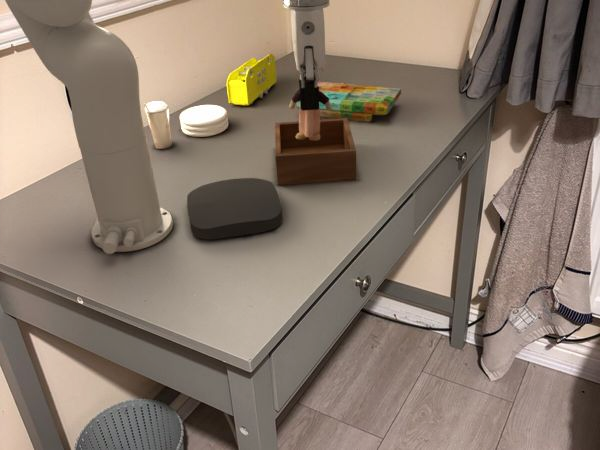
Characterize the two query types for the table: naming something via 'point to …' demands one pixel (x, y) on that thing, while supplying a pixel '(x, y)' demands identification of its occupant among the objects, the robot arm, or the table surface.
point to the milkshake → (159, 123)
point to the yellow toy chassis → (251, 80)
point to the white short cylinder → (204, 120)
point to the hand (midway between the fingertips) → (309, 104)
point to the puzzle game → (356, 101)
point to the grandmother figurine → (309, 117)
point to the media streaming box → (234, 208)
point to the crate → (315, 153)
